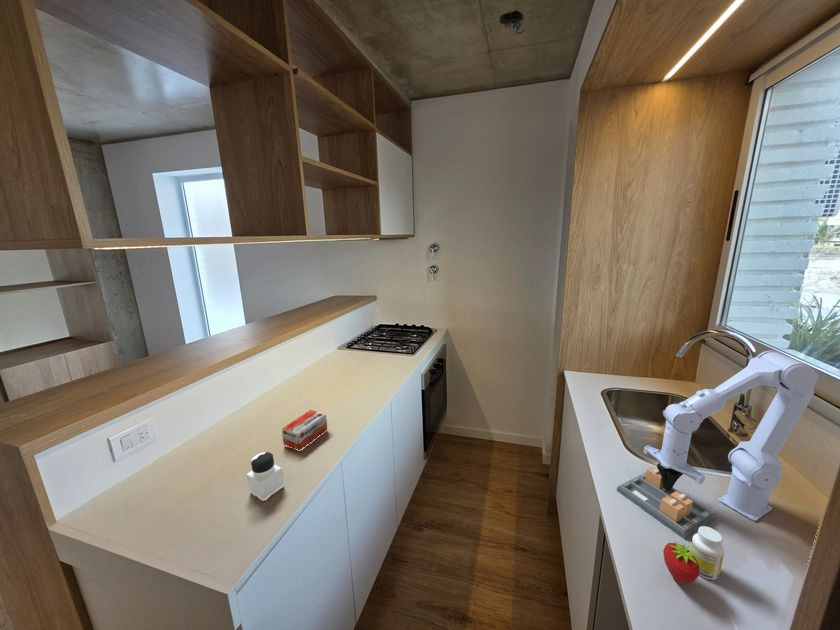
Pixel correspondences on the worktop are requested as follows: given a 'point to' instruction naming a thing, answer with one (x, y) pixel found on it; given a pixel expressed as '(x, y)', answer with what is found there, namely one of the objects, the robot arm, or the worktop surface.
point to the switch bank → (651, 500)
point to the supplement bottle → (708, 552)
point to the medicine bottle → (264, 475)
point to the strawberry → (681, 563)
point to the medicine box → (304, 429)
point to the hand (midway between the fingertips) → (667, 488)
